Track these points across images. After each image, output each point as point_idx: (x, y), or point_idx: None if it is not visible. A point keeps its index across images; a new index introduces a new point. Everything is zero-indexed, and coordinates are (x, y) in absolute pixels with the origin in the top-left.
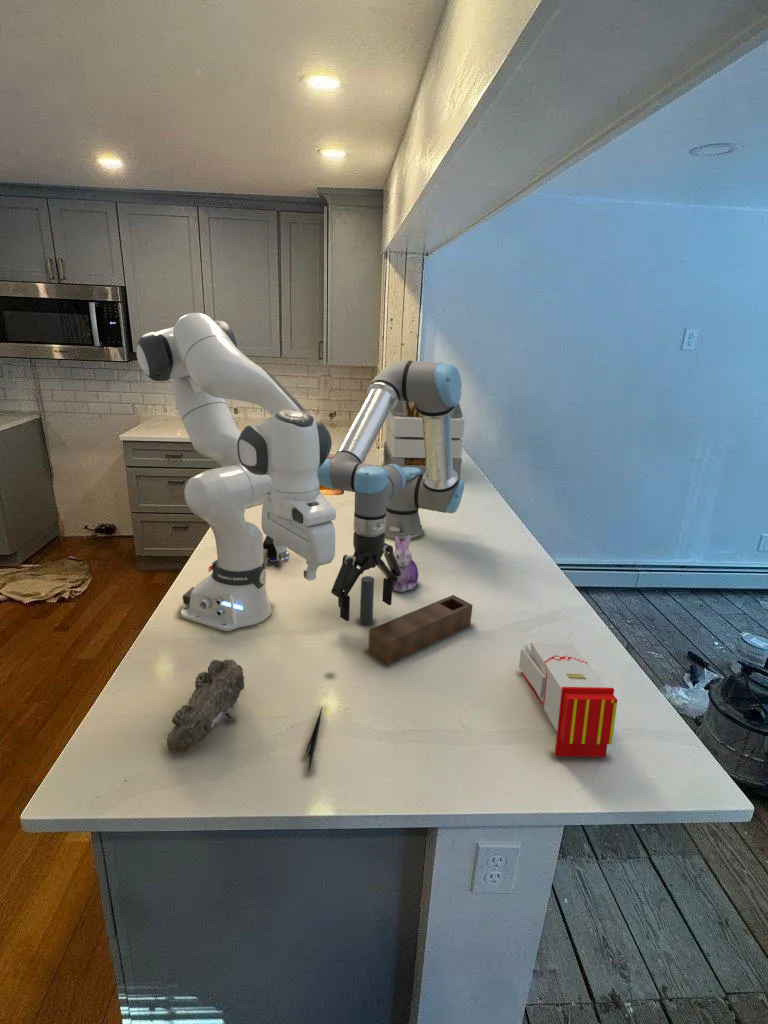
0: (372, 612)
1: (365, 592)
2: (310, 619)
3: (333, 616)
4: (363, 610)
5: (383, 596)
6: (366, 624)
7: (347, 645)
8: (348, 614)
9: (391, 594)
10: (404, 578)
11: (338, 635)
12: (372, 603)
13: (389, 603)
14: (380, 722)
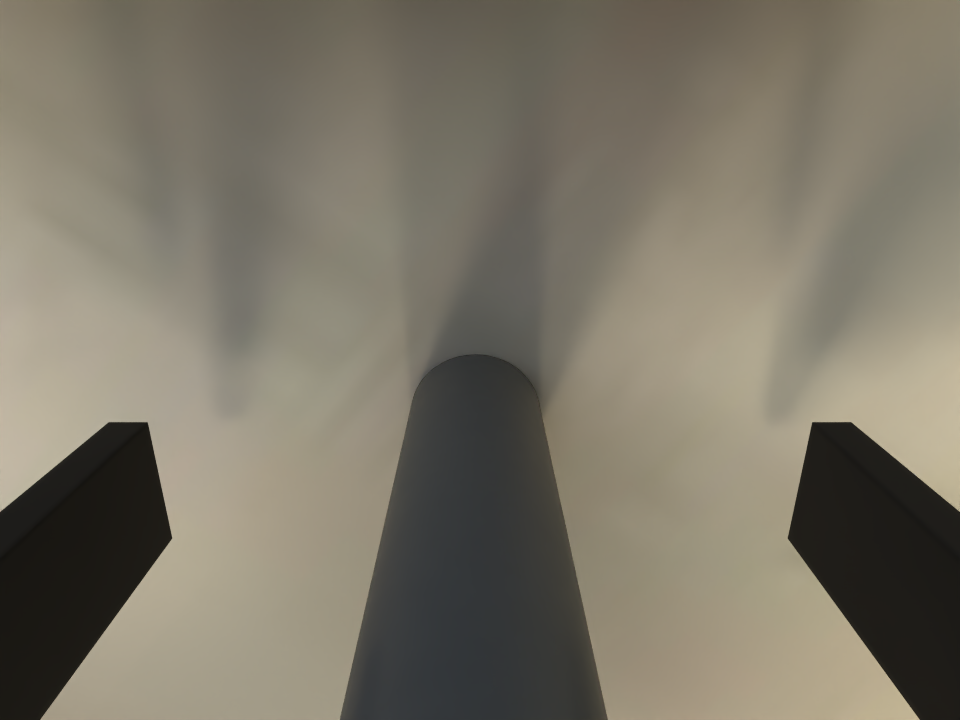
0: (433, 418)
1: (594, 700)
2: (825, 688)
3: (650, 631)
4: (553, 479)
5: (131, 573)
6: (514, 367)
7: (940, 178)
8: (882, 469)
9: (13, 509)
10: None
11: (855, 377)
12: (435, 487)
13: (130, 434)
14: None
